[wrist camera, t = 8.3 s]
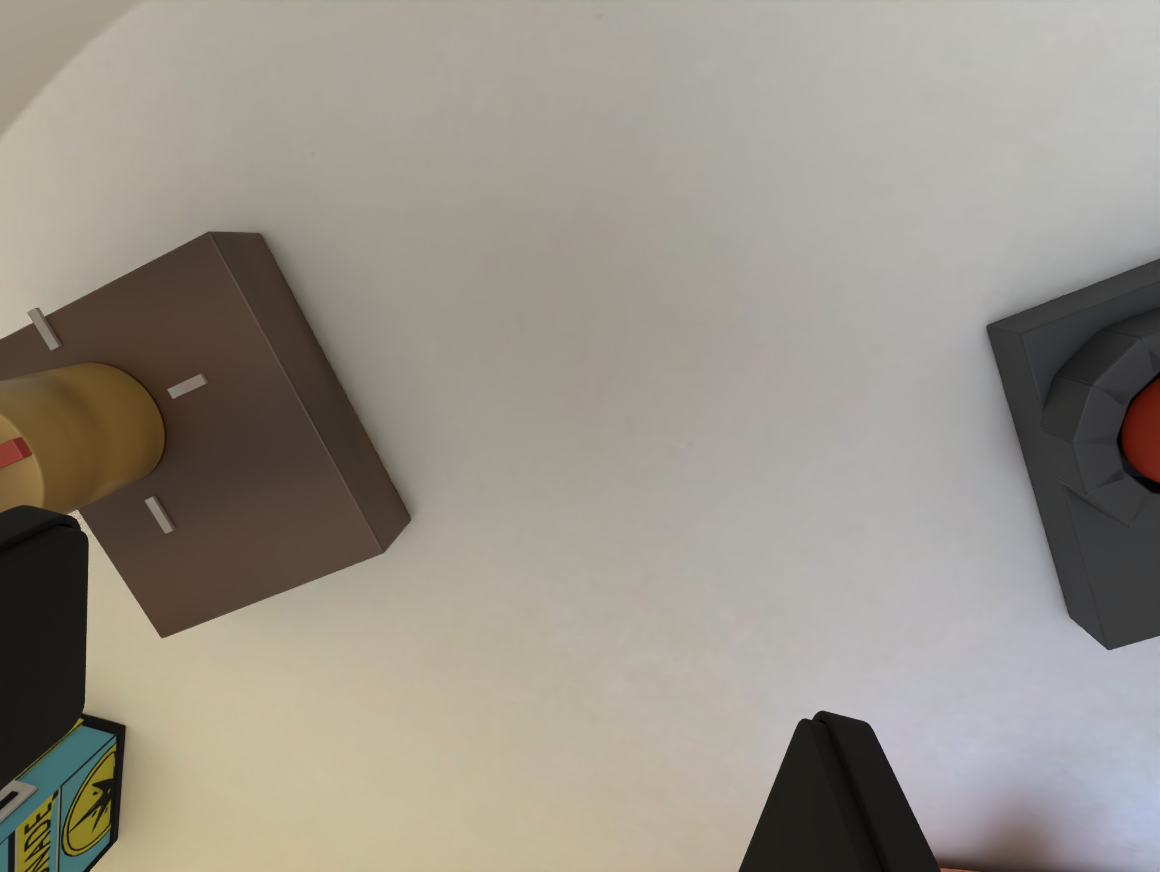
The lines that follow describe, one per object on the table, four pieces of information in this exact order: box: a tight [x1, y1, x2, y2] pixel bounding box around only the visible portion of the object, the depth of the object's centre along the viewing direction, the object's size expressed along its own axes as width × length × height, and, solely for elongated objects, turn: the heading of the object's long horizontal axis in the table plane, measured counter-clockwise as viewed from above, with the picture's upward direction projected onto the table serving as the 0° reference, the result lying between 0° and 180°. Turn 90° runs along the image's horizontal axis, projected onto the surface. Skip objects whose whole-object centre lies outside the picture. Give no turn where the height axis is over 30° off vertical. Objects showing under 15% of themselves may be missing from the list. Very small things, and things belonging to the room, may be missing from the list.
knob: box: [0, 363, 165, 515], centre depth 21 cm, size 4×4×5 cm
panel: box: [0, 232, 411, 638], centre depth 25 cm, size 12×11×3 cm
